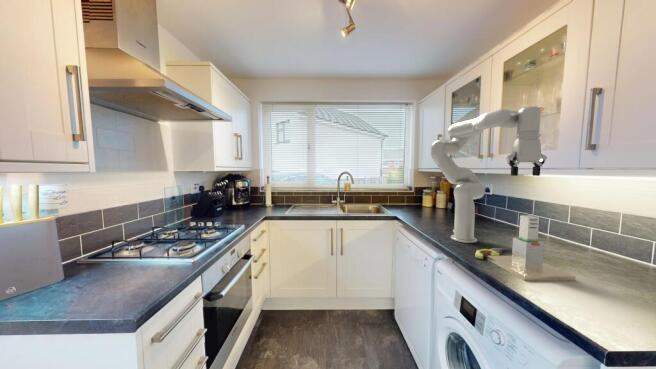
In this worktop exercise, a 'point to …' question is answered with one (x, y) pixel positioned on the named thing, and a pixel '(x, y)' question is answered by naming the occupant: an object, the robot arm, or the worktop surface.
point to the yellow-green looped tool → (489, 252)
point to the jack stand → (529, 263)
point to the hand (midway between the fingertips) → (525, 175)
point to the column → (529, 228)
